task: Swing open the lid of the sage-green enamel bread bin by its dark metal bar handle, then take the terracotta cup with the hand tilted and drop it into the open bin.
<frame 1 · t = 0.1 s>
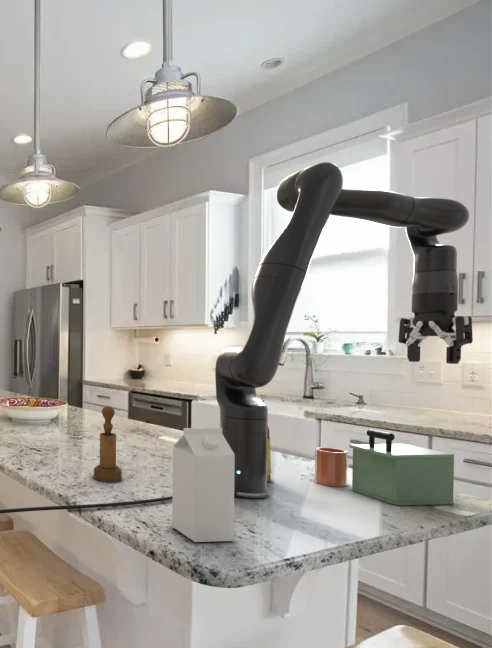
hand: (432, 362, 115), 29 cm above the countertop, tool pointing down, fingers open, 8 cm apart
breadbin: (400, 496, 110), on the countertop
lid: (399, 441, 110), point 12 cm above the countertop, hinge at 0.0°
milk carton: (201, 535, 89), on the countertop
cup: (330, 483, 121), on the countertop
sauce bottle: (255, 480, 124), on the countertop
brown wooden tall piece: (107, 479, 125), on the countertop
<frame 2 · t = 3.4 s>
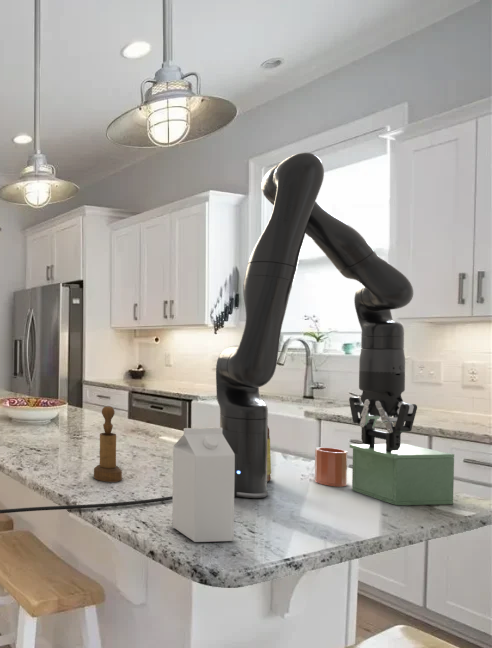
hand: (380, 446, 109), 11 cm above the countertop, tool pointing down, fingers closed on lid, 5 cm apart
lid: (399, 441, 110), point 12 cm above the countertop, hinge at 0.0°, touching gripper
everything else where it was.
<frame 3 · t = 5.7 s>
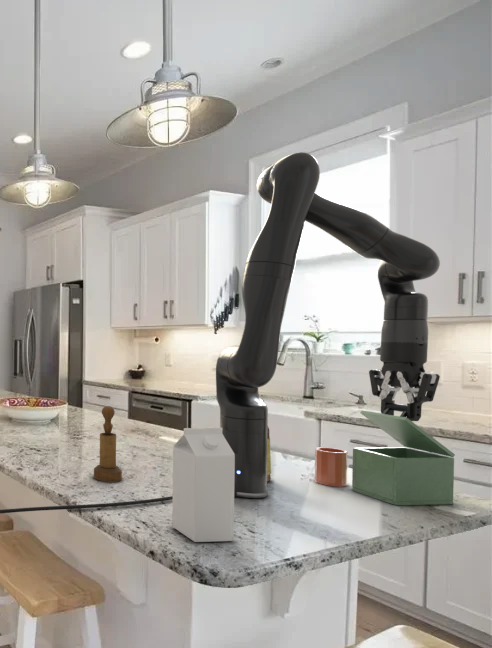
hand: (400, 418, 109), 17 cm above the countertop, tool pointing down, fingers closed on lid, 5 cm apart
lid: (410, 425, 110), point 16 cm above the countertop, hinge at 36.2°, touching gripper
everything else where it was.
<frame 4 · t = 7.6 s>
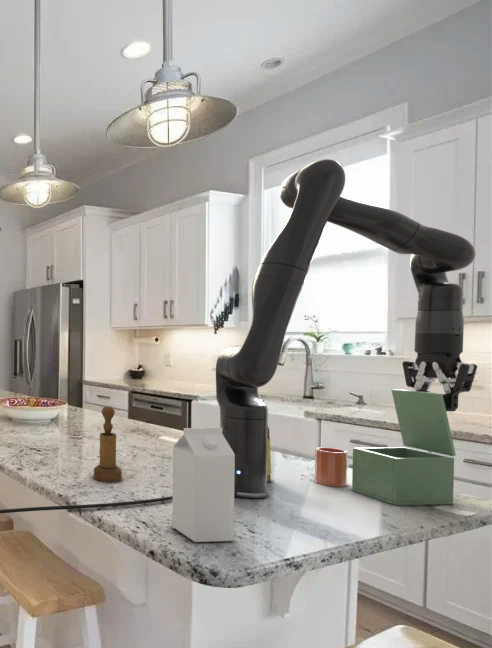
hand: (435, 408, 110), 19 cm above the countertop, tool pointing down, fingers closed on lid, 5 cm apart
lid: (430, 418, 110), point 17 cm above the countertop, hinge at 75.9°, touching gripper
everything else where it was.
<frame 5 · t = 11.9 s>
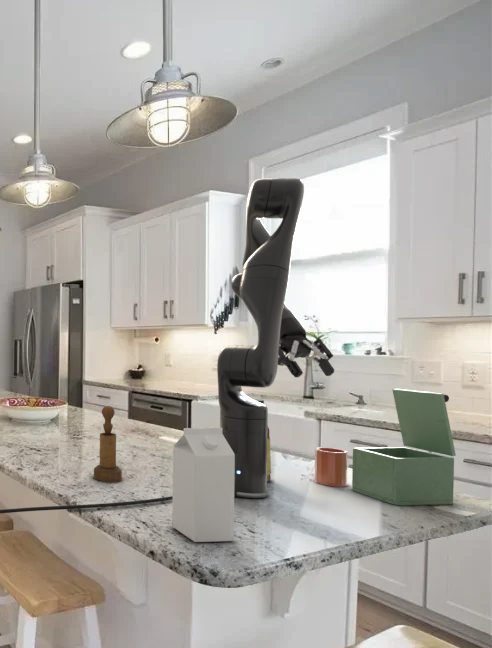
hand: (315, 374, 125), 26 cm above the countertop, tool tilted 40°, fingers open, 8 cm apart
lid: (431, 418, 110), point 17 cm above the countertop, hinge at 76.9°
everything else where it was.
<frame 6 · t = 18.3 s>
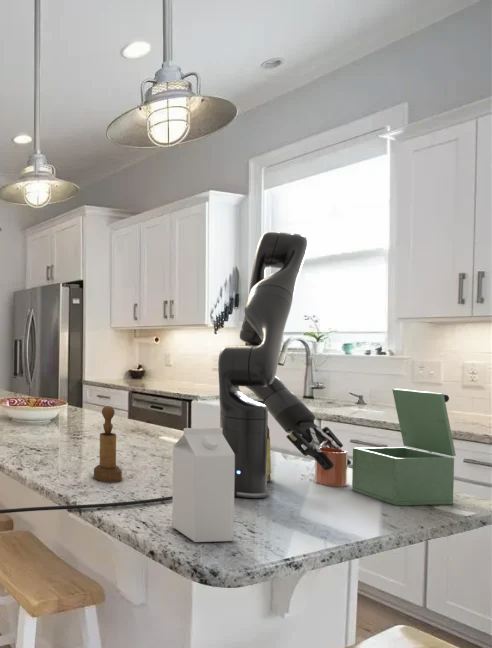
hand: (338, 466, 119), 4 cm above the countertop, tool tilted 45°, fingers closed on cup, 6 cm apart
cup: (330, 483, 121), on the countertop, touching gripper
everything else where it was.
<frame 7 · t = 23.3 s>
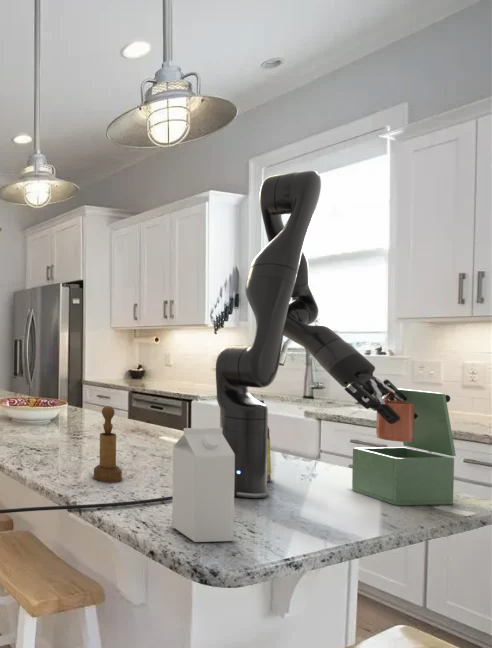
hand: (404, 420, 107), 17 cm above the countertop, tool tilted 45°, fingers closed on cup, 6 cm apart
lid: (431, 418, 110), point 17 cm above the countertop, hinge at 78.3°
cup: (394, 438, 109), point 13 cm above the countertop, touching gripper
everything else where it was.
when the fingers open (11 cm above the countertop, at t = 25.6 s): cup drops 6 cm, resting on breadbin.
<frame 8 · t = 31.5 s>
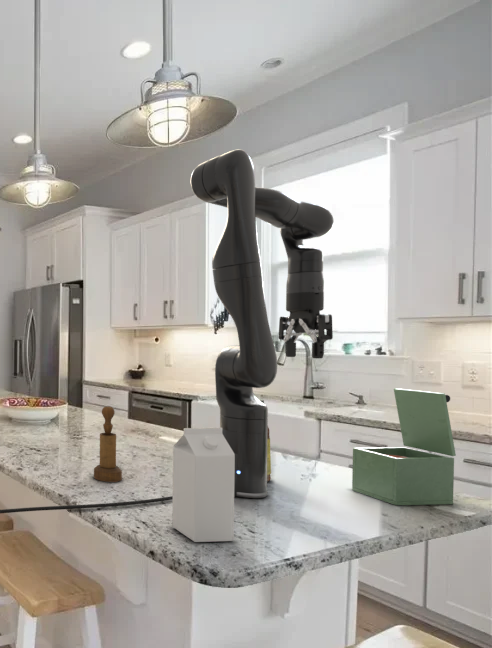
hand: (303, 357, 124), 30 cm above the countertop, tool pointing down, fingers open, 8 cm apart
cup: (394, 493, 109), point 1 cm above the countertop, touching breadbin
everything else where it was.
at the end: lid at +78° (first picture: +0°); cup inside the target area in the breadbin (1.8 cm from its centre), point 0.8 cm above the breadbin's base; the gripper is holding nothing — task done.
